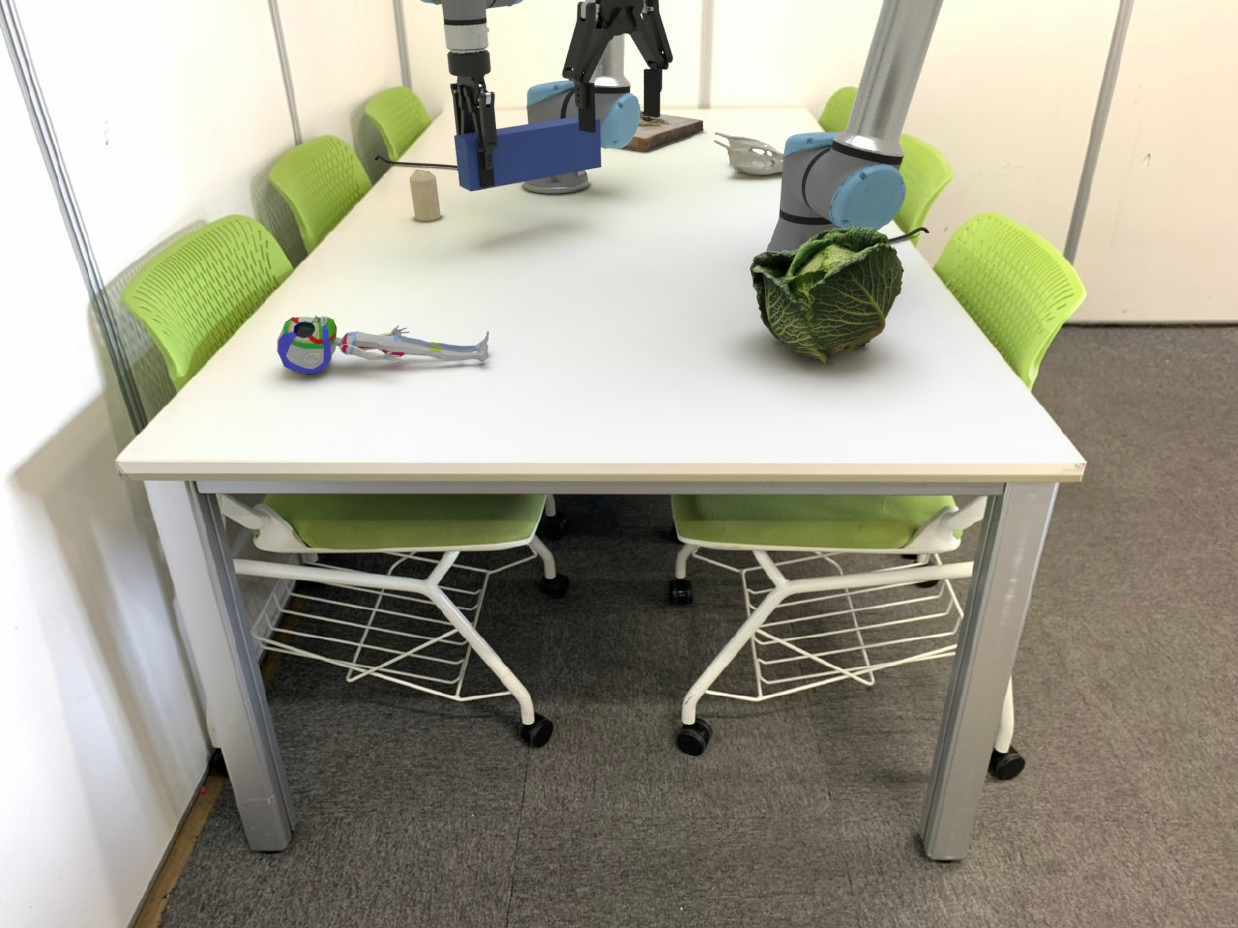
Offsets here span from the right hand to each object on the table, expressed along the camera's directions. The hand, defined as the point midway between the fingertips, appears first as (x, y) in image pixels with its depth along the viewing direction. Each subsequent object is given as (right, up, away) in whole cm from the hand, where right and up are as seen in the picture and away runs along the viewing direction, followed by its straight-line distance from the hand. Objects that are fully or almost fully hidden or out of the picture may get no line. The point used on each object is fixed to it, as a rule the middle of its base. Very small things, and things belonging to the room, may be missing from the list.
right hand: (620, 124), depth 132 cm
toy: (-35, -35, +1) cm, 49 cm away
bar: (-17, +7, +45) cm, 48 cm away
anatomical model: (+36, +22, +91) cm, 100 cm away
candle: (-42, +3, +63) cm, 76 cm away
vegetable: (+30, -33, +4) cm, 45 cm away
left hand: (-27, +4, +39) cm, 48 cm away
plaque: (+4, +45, +127) cm, 135 cm away
